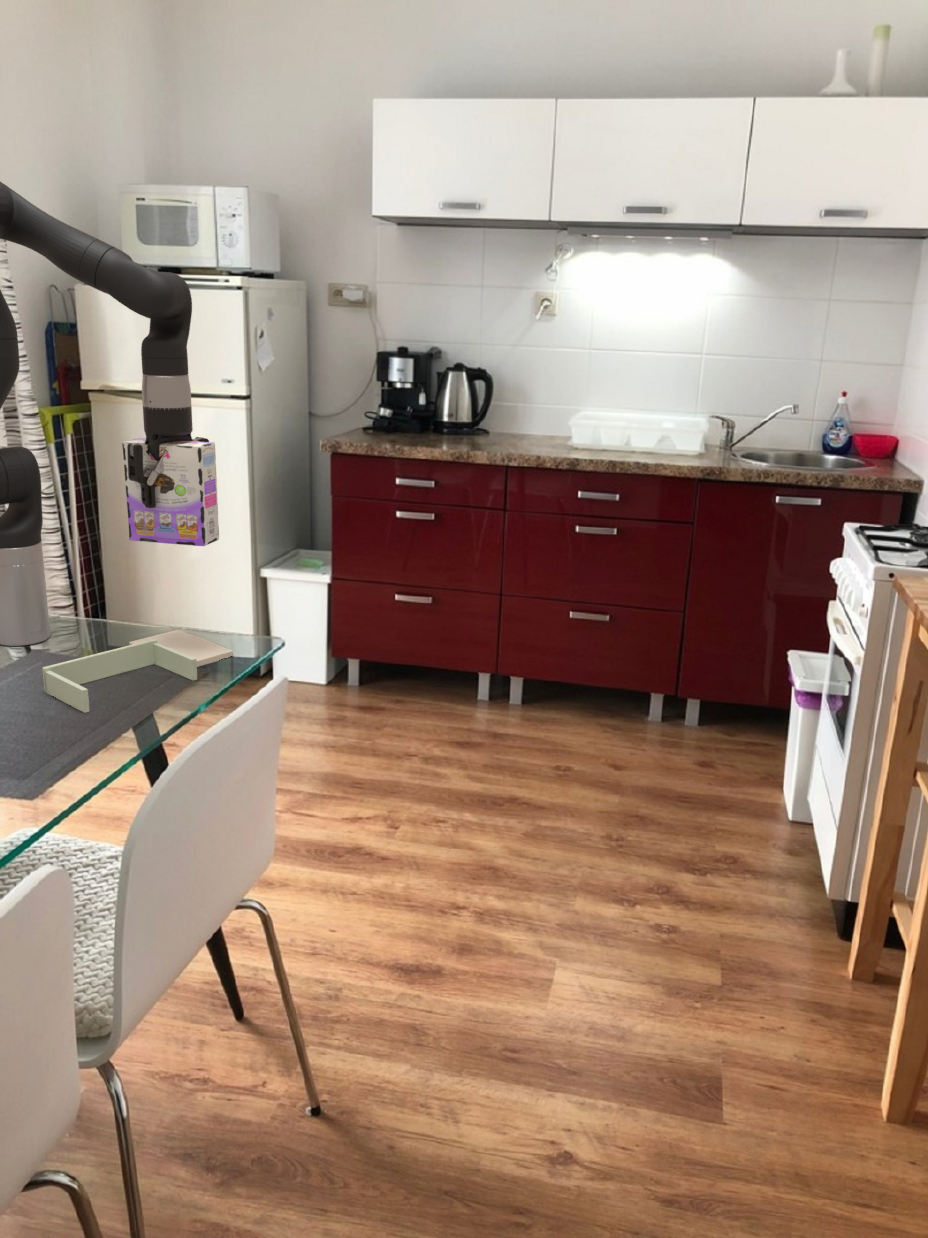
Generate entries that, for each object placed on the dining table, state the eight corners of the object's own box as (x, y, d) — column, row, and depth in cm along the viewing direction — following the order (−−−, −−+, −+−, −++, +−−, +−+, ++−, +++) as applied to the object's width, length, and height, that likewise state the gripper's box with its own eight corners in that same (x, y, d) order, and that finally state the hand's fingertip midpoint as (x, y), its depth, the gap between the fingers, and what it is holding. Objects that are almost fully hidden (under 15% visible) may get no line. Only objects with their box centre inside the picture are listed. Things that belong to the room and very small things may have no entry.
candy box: (220, 540, 174) (217, 441, 169) (204, 548, 169) (200, 446, 164) (145, 533, 177) (140, 435, 172) (127, 540, 172) (120, 440, 167)
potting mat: (129, 647, 180) (128, 642, 180) (178, 634, 188) (178, 629, 187) (183, 670, 170) (183, 665, 170) (233, 656, 178) (233, 651, 177)
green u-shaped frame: (44, 692, 160) (42, 667, 159) (156, 661, 174) (154, 638, 173) (84, 712, 153) (82, 687, 152) (197, 679, 167) (196, 655, 166)
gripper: (140, 408, 159) (147, 513, 164) (218, 403, 169) (222, 502, 174) (113, 403, 164) (120, 506, 168) (191, 398, 174) (195, 495, 179)
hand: (172, 504), depth 171 cm, fingers closed on candy box, 8 cm apart
